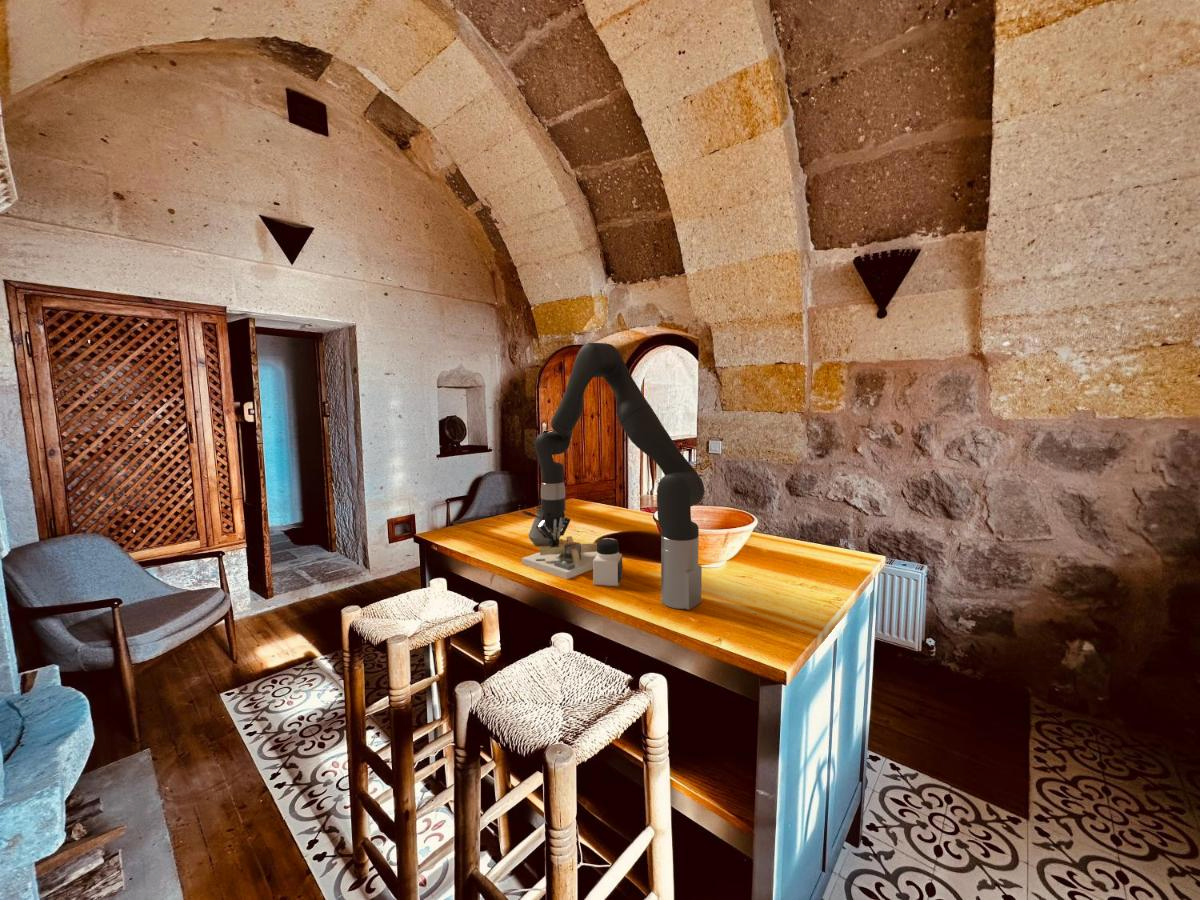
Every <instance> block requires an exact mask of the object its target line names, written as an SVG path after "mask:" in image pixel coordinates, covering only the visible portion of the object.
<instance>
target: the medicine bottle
mask: <svg viewBox="0 0 1200 900" xmlns="http://www.w3.org/2000/svg"><path fill="white" fill-rule="evenodd" d="M596 543H597V556H596V557H595V559H594V560H593V569H592V570H593V571H592V573H593V574H592V576H593V577H592V579H593V581H592V582H593V585H594V586H605V587H606V586H608V587H619V586H620V583H621V581H622V579H623V554H622V553H620V552H619V547H620V545H619V541H618V540H617V539H615V538H610V537H609V538H608V537H605V538H601V539H599V540H597V541H596Z"/></svg>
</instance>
